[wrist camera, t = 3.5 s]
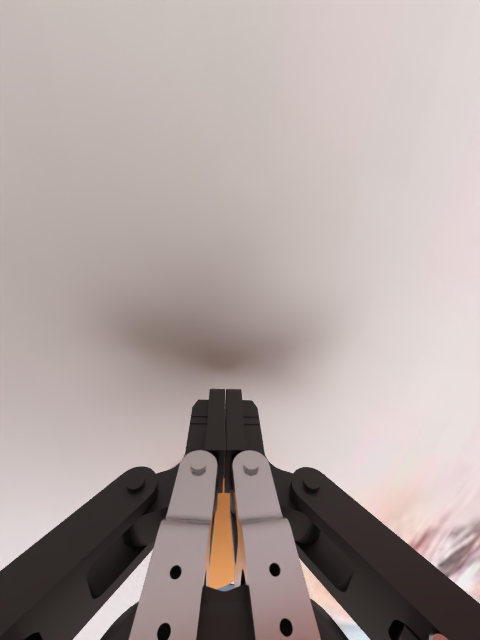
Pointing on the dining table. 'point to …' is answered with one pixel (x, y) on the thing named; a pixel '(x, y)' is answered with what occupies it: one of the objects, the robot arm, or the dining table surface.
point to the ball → (222, 545)
